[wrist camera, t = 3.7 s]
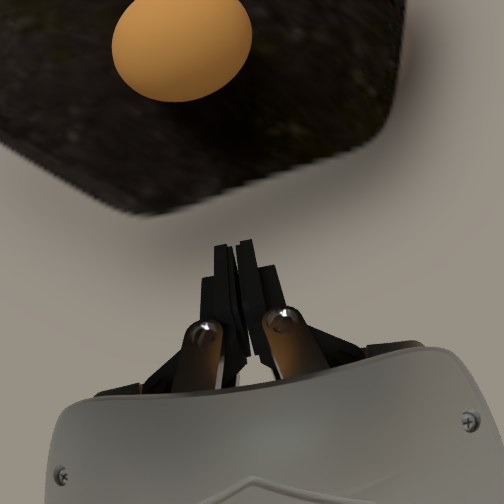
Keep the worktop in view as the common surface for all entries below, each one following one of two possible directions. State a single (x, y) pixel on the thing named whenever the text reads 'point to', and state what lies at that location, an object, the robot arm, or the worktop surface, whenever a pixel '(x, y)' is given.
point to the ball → (181, 46)
